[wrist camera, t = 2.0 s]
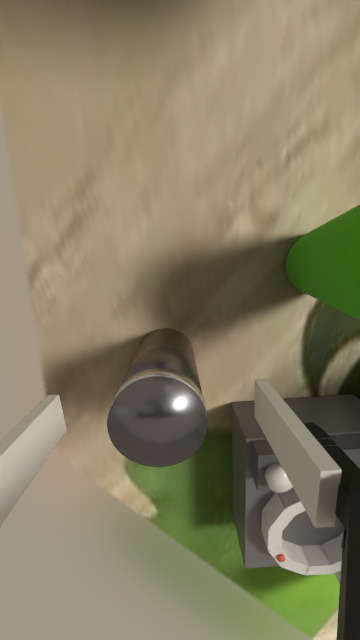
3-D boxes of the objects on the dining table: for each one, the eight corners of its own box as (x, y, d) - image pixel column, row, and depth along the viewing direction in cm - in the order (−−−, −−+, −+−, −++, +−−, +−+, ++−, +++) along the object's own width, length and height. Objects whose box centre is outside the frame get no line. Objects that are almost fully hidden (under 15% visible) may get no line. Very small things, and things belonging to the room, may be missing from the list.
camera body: (231, 402, 23) (255, 463, 16) (352, 394, 23) (431, 451, 16) (232, 513, 27) (252, 602, 20) (336, 506, 27) (393, 593, 20)
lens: (135, 330, 21) (98, 384, 11) (192, 325, 21) (206, 377, 11) (141, 382, 22) (114, 471, 12) (195, 378, 22) (210, 465, 12)
